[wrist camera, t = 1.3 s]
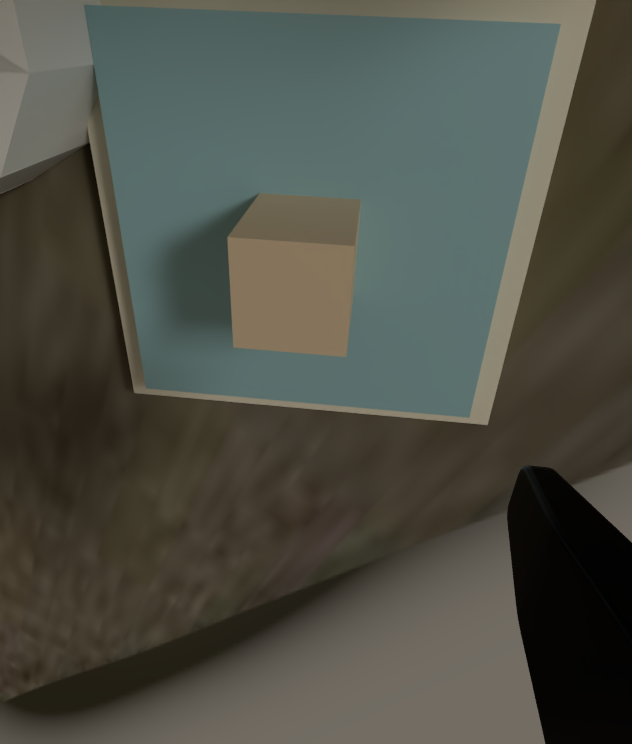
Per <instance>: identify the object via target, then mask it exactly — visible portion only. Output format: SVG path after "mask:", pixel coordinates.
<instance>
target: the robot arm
mask: <svg viewBox="0 0 632 744" xmlns="http://www.w3.org/2000/svg"><path fill="white" fill-rule="evenodd" d="M507 520H508V531H509V540H510V550H511V559H512V569H513V579H514V589H515V597H516V607H517V614H518V621H519V626H520V631H521V636H522V640H523V645H524V649H525V654H526V658H527V662H528V667H529V672H530V676H531V681H532V685H533V690H534V694H535V699H536V703H537V708H538V712H539V717H540V721H541V726H542V730H543V735H544V739H545V744H632V543H631V542H630V541H629V540H628V539H627V538H626V537H625V536H624V535H623V534H622V533H621V532H620V531H619V530H618V529H617V528H616V527H614V526H613V525H612V524H611V523H610V522H609V521H608V520H607V519H606V518H605V517H604V516H603V515H602V514H601V513H600V512H598V511H597V510H596V509H595V508H594V507H593V506H592V505H591V504H590V503H589V502H588V501H587V500H586V499H585V498H584V497H583V496H581V495H580V494H579V493H578V492H577V491H576V490H575V489H574V488H573V487H572V486H571V485H570V484H569V483H568V482H567V481H566V480H565V479H563V478H562V477H561V476H560V475H559V474H558V473H557V472H556V471H555V470H553V469H551V468H548V467H539V466H529V465H527V466H524V467H522V469H521V470H520V472H519V474H518V477H517V480H516V483H515V486H514V490H513V493H512V496H511V499H510V502H509V505H508V512H507Z"/></svg>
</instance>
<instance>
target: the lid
mask: <svg viewBox="0 0 632 744" xmlns="http://www.w3.org/2000/svg"><path fill="white" fill-rule="evenodd" d="M84 6H85V12H86V18H87V25H88V31H89V37H90V43H91V50H92V56H93V62H94V68H95V74H96V81H97V87H98V93H99V99H100V106H101V112H102V118H103V124H104V130H105V137H106V143H107V149H108V155H109V161H110V168H111V174H112V180H113V186H114V193H115V199H116V205H117V211H118V217H119V224H120V230H121V236H122V242H123V249H124V255H125V261H126V267H127V273H128V280H129V286H130V292H131V298H132V304H133V311H134V317H135V323H136V329H137V336H138V342H139V348H140V354H141V360H142V367H143V373H144V379H145V385H146V388H147V389H158V390H169V391H180V392H191V393H202V394H213V395H224V396H235V397H246V398H257V399H268V400H279V401H291V402H302V403H313V404H324V405H335V406H346V407H357V408H368V409H379V410H390V411H401V412H412V413H423V414H434V415H445V416H456V417H467V418H469V417H470V413H471V408H472V404H473V400H474V395H475V391H476V387H477V382H478V378H479V374H480V370H481V365H482V361H483V357H484V352H485V348H486V344H487V339H488V335H489V331H490V327H491V322H492V318H493V314H494V309H495V305H496V301H497V296H498V292H499V288H500V284H501V279H502V275H503V271H504V266H505V262H506V258H507V253H508V249H509V245H510V241H511V236H512V232H513V228H514V223H515V219H516V215H517V211H518V206H519V202H520V198H521V193H522V189H523V185H524V180H525V176H526V172H527V168H528V163H529V159H530V155H531V150H532V146H533V142H534V137H535V133H536V129H537V125H538V120H539V116H540V112H541V107H542V103H543V99H544V94H545V90H546V86H547V82H548V77H549V73H550V69H551V64H552V60H553V56H554V51H555V47H556V43H557V39H558V34H559V30H560V26H561V24H551V23H527V22H502V21H477V20H452V19H427V18H402V17H377V16H352V15H327V14H302V13H277V12H253V11H228V10H203V9H178V8H153V7H128V6H103V5H84Z"/></svg>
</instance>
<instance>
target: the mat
mask: <svg viewBox="0 0 632 744" xmlns="http://www.w3.org/2000/svg"><path fill="white" fill-rule="evenodd" d="M595 3H596V0H100V5H103V6H128V7H153V8H178V9H203V10H228V11H253V12H277V13H302V14H327V15H352V16H377V17H402V18H427V19H452V20H477V21H502V22H527V23H551V24H561V26H560V30H559V34H558V39H557V43H556V47H555V51H554V56H553V60H552V64H551V69H550V73H549V77H548V82H547V86H546V90H545V94H544V99H543V103H542V107H541V112H540V116H539V120H538V125H537V129H536V133H535V137H534V142H533V146H532V150H531V155H530V159H529V163H528V168H527V172H526V176H525V180H524V185H523V189H522V193H521V198H520V202H519V206H518V211H517V215H516V219H515V223H514V228H513V232H512V236H511V241H510V245H509V249H508V253H507V258H506V262H505V266H504V271H503V275H502V279H501V284H500V288H499V292H498V296H497V301H496V305H495V309H494V314H493V318H492V322H491V327H490V331H489V335H488V339H487V344H486V348H485V352H484V357H483V361H482V365H481V370H480V374H479V378H478V382H477V387H476V391H475V395H474V400H473V404H472V408H471V413H470V417H469V418H467V417H456V416H445V415H434V414H423V413H412V412H401V411H390V410H379V409H368V408H357V407H346V406H335V405H324V404H313V403H302V402H291V401H279V400H268V399H257V398H246V397H235V396H224V395H213V394H202V393H191V392H180V391H169V390H158V389H147V388H146V385H145V379H144V373H143V367H142V360H141V354H140V348H139V342H138V336H137V329H136V323H135V317H134V311H133V304H132V298H131V292H130V286H129V280H128V273H127V267H126V261H125V255H124V249H123V242H122V236H121V230H120V224H119V217H118V211H117V205H116V199H115V193H114V186H113V180H112V174H111V168H110V161H109V155H108V149H107V143H106V137H105V130H104V124H103V118H102V112H101V106H100V99H99V93H98V95H97V98H96V101H95V104H94V107H93V110H92V113H91V115H90V118H89V121H88V124H87V129H88V135H89V140H90V146H91V152H92V157H93V163H94V169H95V174H96V180H97V186H98V191H99V197H100V202H101V208H102V214H103V219H104V225H105V231H106V236H107V242H108V248H109V253H110V259H111V265H112V270H113V276H114V282H115V287H116V293H117V298H118V304H119V310H120V315H121V321H122V327H123V332H124V338H125V344H126V349H127V355H128V361H129V366H130V372H131V378H132V383H133V389H134V393H140V394H151V395H162V396H173V397H184V398H195V399H207V400H218V401H229V402H240V403H251V404H262V405H273V406H284V407H295V408H306V409H317V410H328V411H339V412H350V413H361V414H372V415H384V416H395V417H406V418H417V419H428V420H439V421H450V422H461V423H472V424H483V425H488V421H489V417H490V413H491V409H492V405H493V401H494V398H495V394H496V390H497V386H498V382H499V378H500V374H501V370H502V366H503V362H504V358H505V355H506V351H507V347H508V343H509V339H510V335H511V331H512V327H513V323H514V319H515V316H516V312H517V308H518V304H519V300H520V296H521V292H522V288H523V284H524V280H525V276H526V273H527V269H528V265H529V261H530V257H531V253H532V249H533V245H534V241H535V237H536V233H537V230H538V226H539V222H540V218H541V214H542V210H543V206H544V202H545V198H546V194H547V191H548V187H549V183H550V179H551V175H552V171H553V167H554V163H555V159H556V155H557V151H558V148H559V144H560V140H561V136H562V132H563V128H564V124H565V120H566V116H567V112H568V108H569V105H570V101H571V97H572V93H573V89H574V85H575V81H576V77H577V73H578V69H579V66H580V62H581V58H582V54H583V50H584V46H585V42H586V38H587V34H588V30H589V26H590V23H591V19H592V15H593V11H594V7H595Z"/></svg>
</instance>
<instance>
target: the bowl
mask: <svg viewBox="0 0 632 744" xmlns="http://www.w3.org/2000/svg"><path fill="white" fill-rule="evenodd" d="M84 5H100V0H0V194H2V193H4V192H6V191H8V190H11V189H13V188H15V187H17V186H20V185H22V184H24V183H26V182H29V181H31V180H33V179H34V178H36V177H38V176H39V175H41V174H42V173H44V172H45V171H47V170H48V169H50V168H51V167H53V166H54V165H56V164H57V163H59V162H60V161H62V160H63V159H65V158H66V157H68V156H70V155H71V154H73V153H74V152H76V151H77V150H79V149H80V148H82V147H83V146H85V145H86V144H88V143H89V142H90V140H89V135H88V129H87V124H88V121H89V118H90V115H91V113H92V110H93V107H94V104H95V101H96V98H97V95H98V87H97V81H96V74H95V68H94V62H93V56H92V50H91V43H90V37H89V31H88V25H87V18H86V12H85V6H84Z"/></svg>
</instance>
